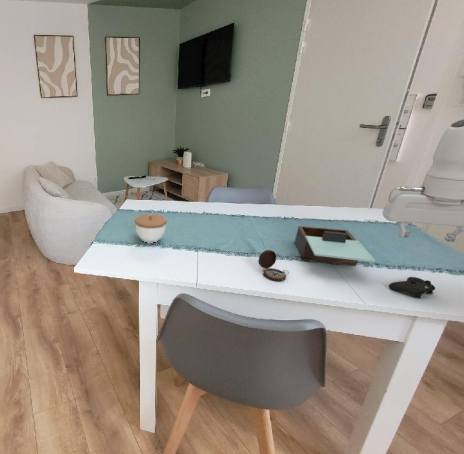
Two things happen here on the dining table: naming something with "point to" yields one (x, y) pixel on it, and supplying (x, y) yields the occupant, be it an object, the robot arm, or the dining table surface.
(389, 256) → the dining table surface
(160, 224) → the lidded bowl
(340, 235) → the case lid
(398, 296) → the dining table surface
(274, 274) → the compass
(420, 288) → the gaming controller
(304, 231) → the case
